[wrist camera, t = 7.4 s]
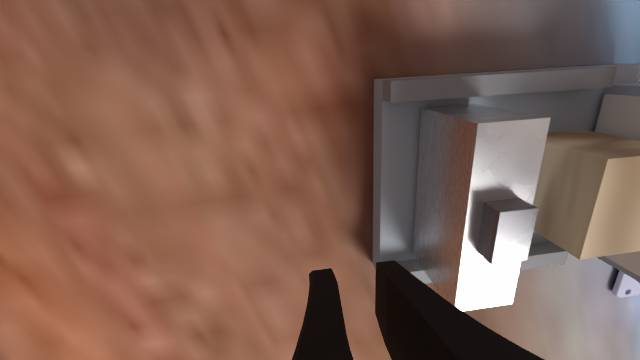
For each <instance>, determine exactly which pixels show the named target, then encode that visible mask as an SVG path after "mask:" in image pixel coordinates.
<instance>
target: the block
mask: <svg viewBox="0 0 640 360" xmlns="http://www.w3.org/2000/svg"><path fill="white" fill-rule="evenodd" d="M533 205H534V206H535V207H537V208H538V212H537V216H536V221H535V226H534V231H535V232H537V233H538V234H540V235H542V236H543V237H545V238H546V239H548V240H549V241H551V242H553V243H554V244H556V245H557V246H559V247H561V248H562V249H564V250H565V251H567V252H569V253H570V254H572V255H573V256H575V257H577V258H578V259H587V258H594V257H601V256H608V255H616V254H623V253H630V252H637V251H640V141H637V140H632V139H627V138H622V137H617V136H612V135H607V134H602V133H597V132H592V131H587V130H574V131H563V132H551V133H547V138H546V143H545V148H544V153H543V158H542V163H541V167H540V172H539V177H538V182H537V187H536V192H535V197H534V201H533Z"/></svg>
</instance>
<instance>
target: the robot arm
mask: <svg viewBox="0 0 640 360" xmlns="http://www.w3.org/2000/svg"><path fill="white" fill-rule="evenodd" d="M309 281H310V287H309V296H308V303H307V307H306V312H305V317H304V321H303V325H302V329H301V332H300V336H299V339H298V342H297V346H296V349H295V352H294V355H293V358H292V360H353V357H352V354H351V351H350V347H349V343H348V339H347V335H346V329H345V323H344V318H343V312H342V306H341V301H340V295H339V289H338V284H337V280H336V278H335V275H334V273H333V271H332V269H331V268H330V269H322V270H314V271H312V272H311V273H310V274H309ZM612 293H613V295H615V296H616V297H618V298H621V297H627V296H634V295H640V282H638V281H636V280H635V279H633V278H631V277H630V276H628V275H626V274H625V273H623V272H621V271H619V273H618V276H617V279H616V282H615V285H614V288H613V290H612ZM375 314H376V317H377V320H378V323H379V327H380V330H381V333H382V336H383V339H384V342H385V345H386V347H387V350H388V352H389V354H390V357H391V359H392V360H544V359H542V358H540V357H538V356H536V355H534V354H533V353H531V352H529V351H527V350H525V349H523V348H521V347H520V346H518V345H516V344H515V343H513V342H511V341H509V340H508V339H506V338H504V337H502V336H501V335H499V334H497V333H495V332H494V331H492V330H491V329H489V328H487V327H486V326H484V325H482V324H481V323H479V322H478V321H476V320H475V319H473V318H472V317H470V316H469V315H467V314H466V313H464V312H463V311H461V310H460V309H458V308H457V307H455V306H454V305H453V304H451V303H450V302H448V301H447V300H446V299H444V298H443V297H441V296H440V295H439V294H437V293H436V292H435V291H433V290H432V289H431V288H429V287H428V286H427V285H426V284H424V283H423V282H422V281H420V280H419V279H418V278H417V277H415V276H414V275H413V274H411V273H410V272H409V271H408V270H406V269H405V268H404V267H403V266H401V265H400V264H399V263H397V262H396V261H395V260H392V261H384V262H376V298H375Z"/></svg>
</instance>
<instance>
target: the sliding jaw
mask: <svg viewBox="0 0 640 360" xmlns="http://www.w3.org/2000/svg"><path fill="white" fill-rule="evenodd" d="M550 119H551V118H550V117H545V116H539V115H533V114H528V113H522V112H516V111H511V110H505V109H500V108H494V107H488V106H483V105H477V104H471V105H458V106H444V107H431V108H421V123H420V140H419V156H418V173H417V190H416V206H415V223H414V239H413V257H414V258H415V260H416V261H417V262H418V264H419V265H420V266H421V268H422V269H423V270H424V272H425V273H426V275H427V276H428V277H429V279H430V280H431V281H432V283H433V284H434V285H435V287H436V288H437V290H438V291H439V292H440V294H441V295H442V296H443V298H444V299H446V300H447V301H448V302H450V303H451V304H453V305H454V306H455V307H457V308H458V309H460V310H461V311H468V310H475V309H481V308H488V307H494V306H501V305H508V304H512V303H513V299H514V294H515V289H516V284H517V279H518V274H519V269H520V265H521V261H524V260H527V259H528V254H529V249H530V244H531V240H532V235H533V230H534V226H535V221H536V216H537V212H538V208H537V207H535V206H534V205H533V201H534V197H535V192H536V187H537V182H538V177H539V172H540V167H541V163H542V158H543V153H544V148H545V143H546V138H547V133H548V129H549V124H550Z"/></svg>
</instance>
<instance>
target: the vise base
mask: <svg viewBox="0 0 640 360" xmlns="http://www.w3.org/2000/svg"><path fill="white" fill-rule="evenodd" d="M639 75H640V64H608V65H592V66H576V67H560V68H544V69H528V70H512V71H496V72H480V73H464V74H448V75H432V76H416V77H400V78H384V79H374V144H373V265H374V267H375V269H376V262H384V261H392V260H395V261H396V262H397V263H399V264H400V265H401V266H403V267H404V268H405V269H406V270H408V271H409V272H410V273H411V274H413V275H414V276H415V277H417V278H418V279H419V280H420V281H422V282H423V283H424V284H426V283H432V281H431V280H430V279H429V277H428V276H427V275H426V273H425V272H424V270H423V269H422V268H421V266H420V265H419V264H418V262H417V261H416V260H415V258H414V257H413V239H414V223H415V206H416V190H417V173H418V156H419V140H420V123H421V108H431V107H444V106H458V105H471V104H477V105H483V106H488V107H494V108H500V109H505V110H511V111H516V112H522V113H528V114H533V115H539V116H545V117H550V118H551V119H550V124H549V129H548V133H551V132H563V131H574V130H587V131H592V132H597V133H602V134H607V135H612V136H617V137H622V138H627V139H632V140H637V141H640V82H638V79H639ZM567 255H568V252H567V251H565V250H564V249H562V248H561V247H559V246H557V245H556V244H554V243H553V242H551V241H549V240H548V239H546V238H545V237H543V236H542V235H540V234H538V233H537V232H535V231H534V230H533V235H532V240H531V244H530V249H529V254H528V259H527V260H524V261H521V265H520V269H519V270H527V269H534V268H541V267H548V266H555V265H563V264H565V263H566V259H567ZM597 258H599V259H601V260H602V261H604V262H606V263H608V264H609V265H611V266H613V267H614V268H616V269H618V270H619V271H621V272H623V273H625V274H626V275H628V276H630V277H631V278H633V279H635V280H636V281H638V282H640V251H637V252H630V253H623V254H616V255H608V256H601V257H597Z"/></svg>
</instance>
